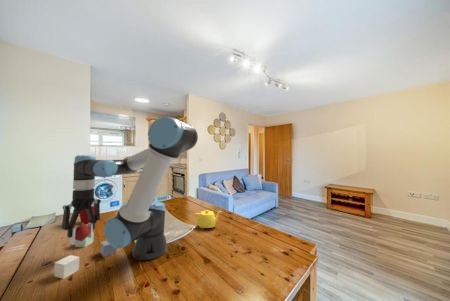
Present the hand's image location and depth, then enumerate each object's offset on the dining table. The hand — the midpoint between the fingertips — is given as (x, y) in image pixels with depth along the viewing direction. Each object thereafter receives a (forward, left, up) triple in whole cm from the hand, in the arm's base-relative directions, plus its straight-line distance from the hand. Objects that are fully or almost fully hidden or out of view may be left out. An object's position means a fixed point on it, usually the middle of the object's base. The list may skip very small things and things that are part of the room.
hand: (81, 240), depth 74 cm
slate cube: (-8, -7, -7) cm, 13 cm away
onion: (0, 0, -1) cm, 1 cm away
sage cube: (+10, -6, -7) cm, 13 cm away
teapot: (-34, -54, -7) cm, 64 cm away
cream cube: (-8, +8, -7) cm, 14 cm away
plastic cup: (+40, -21, -7) cm, 45 cm away
